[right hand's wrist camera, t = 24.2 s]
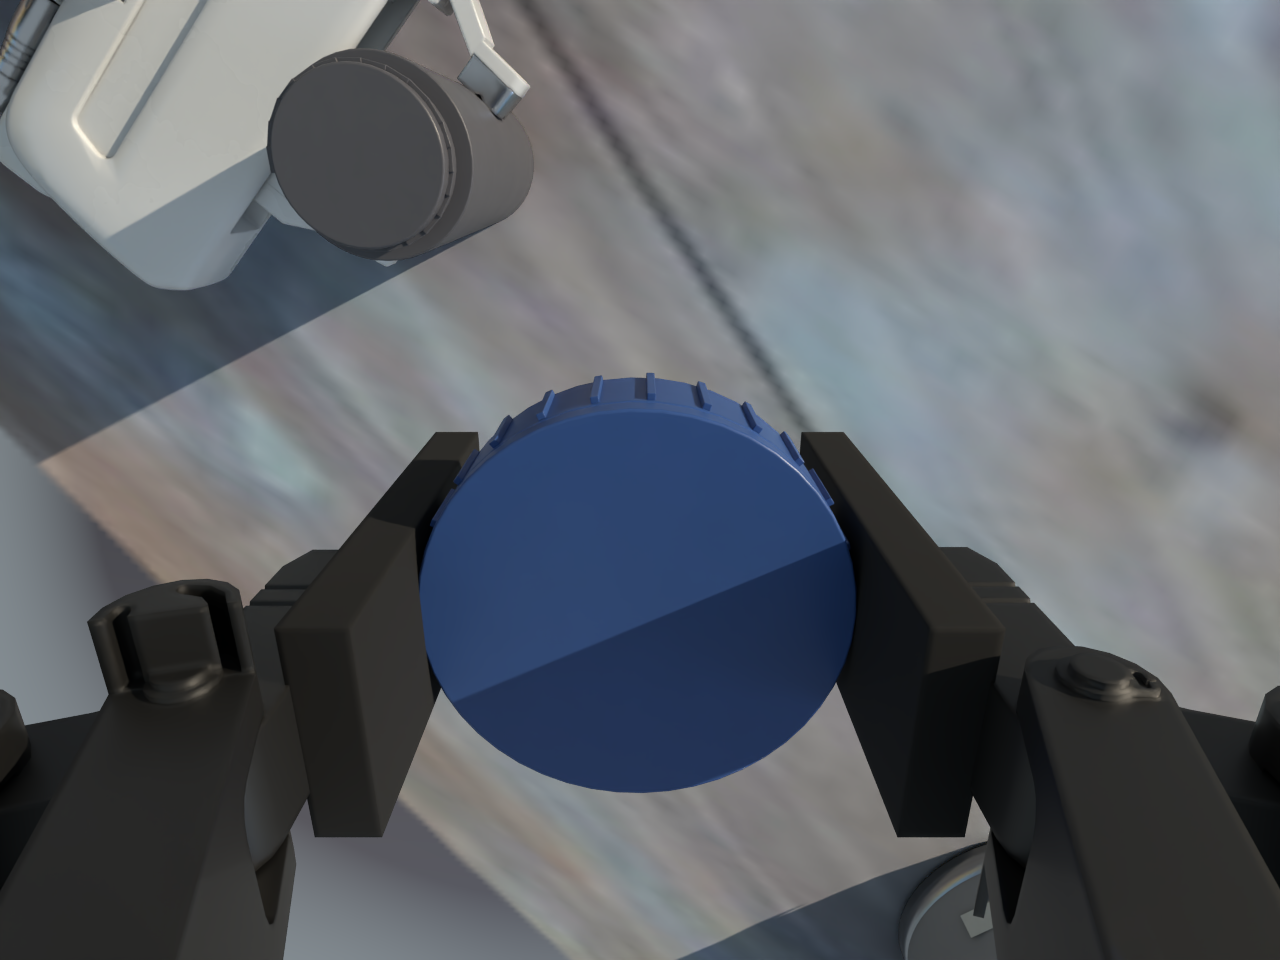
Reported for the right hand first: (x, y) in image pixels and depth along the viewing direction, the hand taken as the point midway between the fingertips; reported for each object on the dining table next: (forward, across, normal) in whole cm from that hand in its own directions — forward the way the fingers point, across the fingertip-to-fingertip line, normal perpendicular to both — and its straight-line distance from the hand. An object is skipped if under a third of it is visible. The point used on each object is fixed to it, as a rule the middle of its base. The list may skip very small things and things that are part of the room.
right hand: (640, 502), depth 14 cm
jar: (+23, +7, -6) cm, 25 cm away
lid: (-4, 0, 0) cm, 4 cm away
